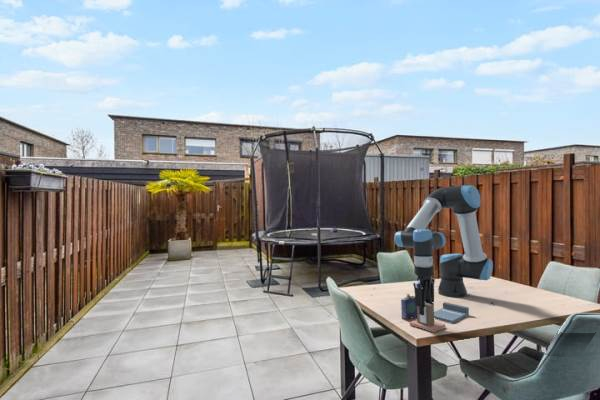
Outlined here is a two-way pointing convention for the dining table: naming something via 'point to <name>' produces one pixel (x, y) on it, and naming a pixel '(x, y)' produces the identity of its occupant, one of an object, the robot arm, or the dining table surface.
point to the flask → (408, 307)
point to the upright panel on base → (430, 324)
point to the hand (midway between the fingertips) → (425, 321)
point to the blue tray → (451, 312)
